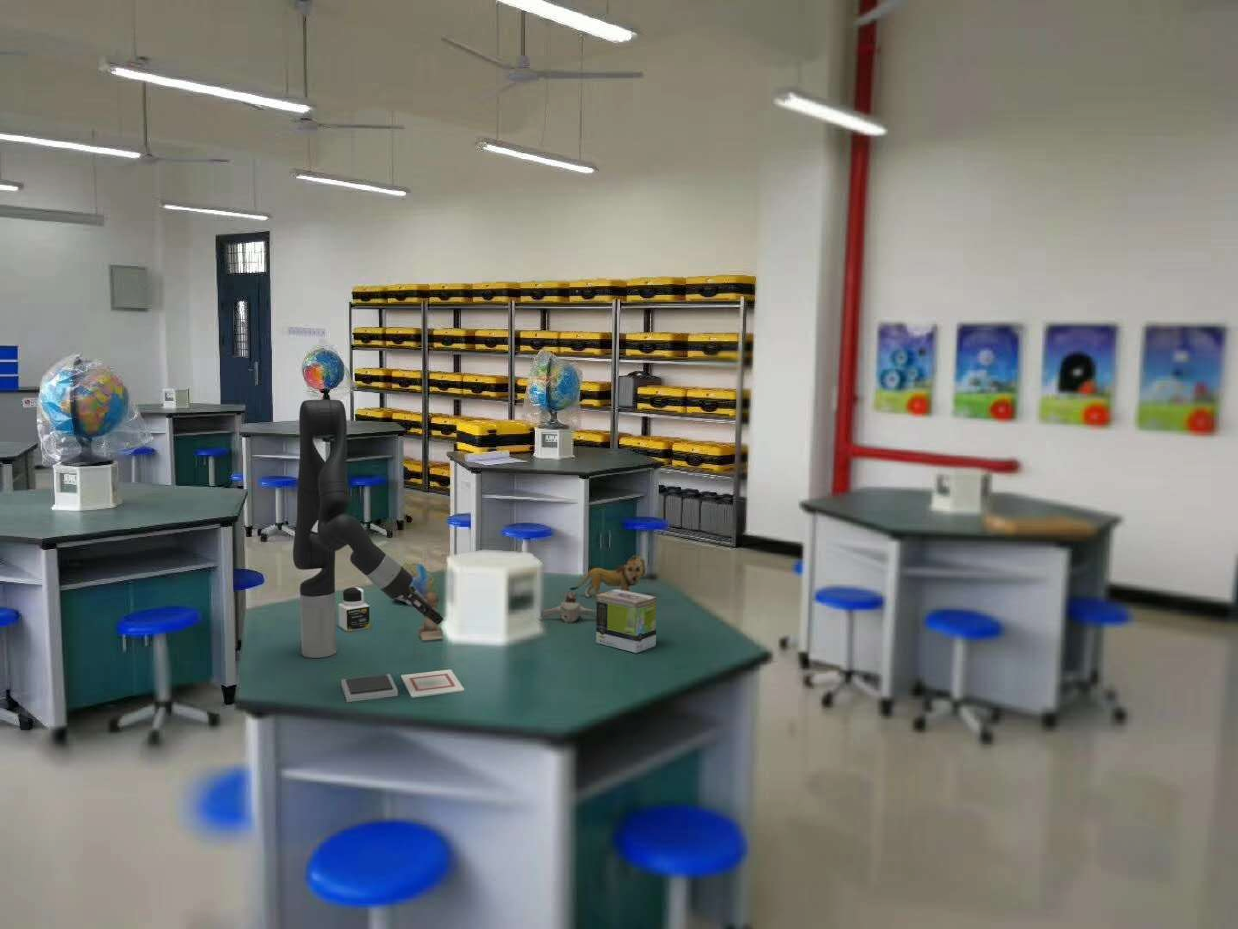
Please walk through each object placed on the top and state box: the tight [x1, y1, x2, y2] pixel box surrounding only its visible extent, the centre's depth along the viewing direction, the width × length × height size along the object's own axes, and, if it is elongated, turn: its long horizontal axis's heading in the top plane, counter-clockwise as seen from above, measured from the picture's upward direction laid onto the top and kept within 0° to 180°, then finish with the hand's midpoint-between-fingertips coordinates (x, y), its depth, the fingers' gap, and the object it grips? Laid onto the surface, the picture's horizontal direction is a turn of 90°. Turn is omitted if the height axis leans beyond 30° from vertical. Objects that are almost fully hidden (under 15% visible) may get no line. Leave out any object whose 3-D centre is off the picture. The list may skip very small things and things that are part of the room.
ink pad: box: [341, 673, 399, 703], centre depth 238 cm, size 12×12×2 cm
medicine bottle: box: [338, 586, 371, 633], centre depth 291 cm, size 7×7×12 cm
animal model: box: [569, 555, 647, 598], centre depth 328 cm, size 9×26×15 cm, turn 79°
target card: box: [400, 669, 465, 699], centre depth 244 cm, size 16×13×1 cm
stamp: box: [418, 592, 444, 644], centre depth 241 cm, size 5×5×12 cm
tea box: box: [595, 588, 657, 654], centre depth 277 cm, size 15×10×15 cm, turn 51°
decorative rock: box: [395, 562, 436, 603], centre depth 322 cm, size 13×15×14 cm
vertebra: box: [540, 591, 596, 623], centre depth 303 cm, size 20×11×10 cm, turn 92°
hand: (438, 619), depth 242 cm, fingers closed on stamp, 3 cm apart
